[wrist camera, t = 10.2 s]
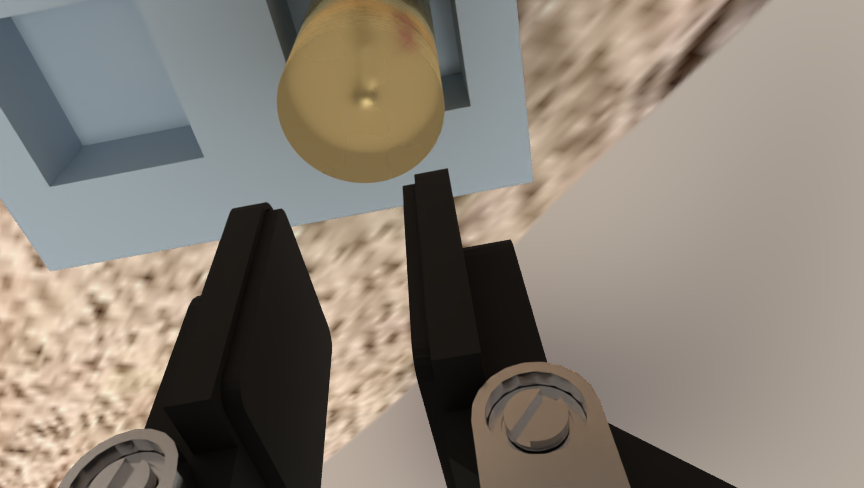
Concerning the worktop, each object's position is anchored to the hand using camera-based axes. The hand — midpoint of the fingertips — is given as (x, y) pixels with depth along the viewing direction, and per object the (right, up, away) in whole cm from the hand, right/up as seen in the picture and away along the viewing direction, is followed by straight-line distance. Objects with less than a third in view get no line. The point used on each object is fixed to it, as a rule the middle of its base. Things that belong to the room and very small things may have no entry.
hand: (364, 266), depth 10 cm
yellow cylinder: (-1, +8, +11) cm, 14 cm away
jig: (-5, +8, +12) cm, 16 cm away
